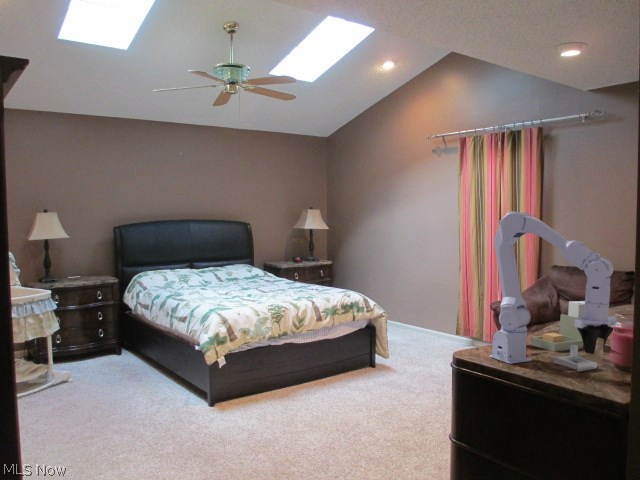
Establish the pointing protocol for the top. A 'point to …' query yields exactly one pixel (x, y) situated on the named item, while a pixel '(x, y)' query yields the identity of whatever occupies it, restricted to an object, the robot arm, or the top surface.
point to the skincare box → (576, 309)
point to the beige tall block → (596, 352)
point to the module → (553, 337)
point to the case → (566, 330)
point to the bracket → (572, 358)
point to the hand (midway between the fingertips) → (593, 352)
